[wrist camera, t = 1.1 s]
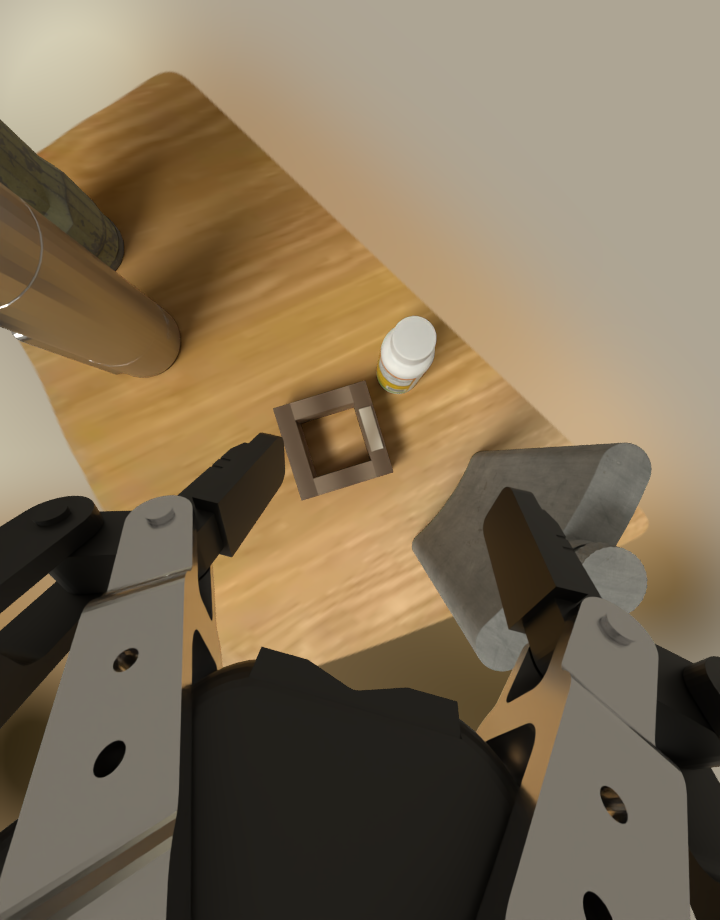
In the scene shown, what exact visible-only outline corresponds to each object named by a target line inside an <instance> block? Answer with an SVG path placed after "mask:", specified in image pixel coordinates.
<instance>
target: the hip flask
mask: <svg viewBox="0 0 720 920" xmlns="http://www.w3.org/2000/svg"><path fill="white" fill-rule="evenodd" d="M650 475H651V463H650V460H649V458H648V456H647V454H646V453H645V452H644V450H642V449H641V448H640V447H638V446H637V445H634V444H631V443H614V444H596V445H579V446H562V447H546V448H529V449H513V450H496V451H481V452H477V453H475V454H474V455H473V456H472V458H471V460H470V462H469V465H468V467H467V469H466V471H465V473H464V475H463V477H462V479H461V480H460V482H459V484H458V486H457V487H456V489H455V490H454V492H453V493H452V495H451V496H450V498H449V499H448V501H447V502H446V503H445V505H444V506H443V508H442V509H441V510H440V512H439V513H438V514H437V515H436V516H435V518H434V519H433V520H432V521H431V522H430V523H429V524H428V526H427V527H426V528H425V529H424V530H423V531H422V532H420V533H419V534H418V535H417V536H416V537H415V538H414V540H413V542H412V549H413V552H414V553H415V555H416V557H417V558H418V560H419V562H420V563H421V565H422V566H423V568H424V570H425V571H426V573H427V575H428V576H429V578H430V579H431V581H432V583H433V584H434V586H435V587H436V589H437V591H438V592H439V594H440V596H441V597H442V599H443V600H444V602H445V604H446V605H447V607H448V609H449V610H450V612H451V613H452V615H453V617H454V618H455V620H456V622H457V623H458V625H459V626H460V628H461V629H462V631H463V633H464V634H465V636H466V638H467V639H468V641H469V643H470V644H471V646H472V648H473V649H474V651H475V652H476V654H477V655H478V657H479V659H480V660H481V661H482V663H483V664H484V665H486V666H487V667H489V668H490V669H493V670H496V671H507V670H511V669H513V668H514V666H515V664H516V662H517V659H518V657H519V655H520V653H521V651H522V649H523V647H524V646H525V645H526V644H527V643H529V642H528V639H527V636H526V634H524V633H520V632H516V631H512V630H509V629H508V625H507V622H506V618H505V614H504V610H503V606H502V603H501V599H500V595H499V591H498V587H497V584H496V580H495V576H494V572H493V568H492V565H491V561H490V557H489V553H488V550H487V546H486V542H485V538H484V534H483V523H484V519H485V517H486V515H487V513H488V512H489V510H490V509H491V507H492V505H493V504H494V502H495V500H496V499H497V497H498V496H499V494H500V492H501V491H502V489H503V488H505V487H511V488H516V489H521V490H525V491H530V492H532V493H533V494H534V496H535V498H536V500H537V502H538V503H539V505H540V507H541V509H543V510H545V511H546V512H547V513H548V514H549V515H550V516H551V517H552V518H553V519H554V520H555V521H556V522H557V523H558V524H559V526H560V527H561V529H562V531H563V533H564V534H565V536H566V540H568V541H569V543H570V544H571V546H572V548H573V552H575V553H576V555H577V556H578V558H579V560H580V561H581V563H582V565H583V567H584V568H585V570H586V572H587V573H588V575H589V577H590V578H591V580H592V582H593V584H594V585H595V587H596V589H597V590H598V592H599V594H600V595H601V597H602V599H605V600H607V601H610V602H612V603H614V604H615V605H617V606H619V607H620V608H622V609H623V610H625V611H626V612H627V613H630V612H631V611H633V610H634V609H635V608H636V607H637V606H638V605H639V604H640V602H641V601H642V600H643V596H644V594H645V593H646V588H647V577H646V572H645V570H644V566H643V565H642V563H641V561H640V560H639V559H638V558H637V557H636V555H634V554H632V553H631V552H630V551H627V550H625V549H624V548H619V547H617V546H616V545H617V543H618V541H619V539H620V538H621V536H622V534H623V532H624V531H625V529H626V527H627V525H628V523H629V521H630V520H631V518H632V516H633V514H634V512H635V510H636V508H637V506H638V504H639V502H640V499H641V497H642V495H643V493H644V490H645V488H646V486H647V484H648V481H649V479H650Z"/></svg>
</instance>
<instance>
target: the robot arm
mask: <svg viewBox="0 0 720 920" xmlns="http://www.w3.org/2000/svg"><path fill="white" fill-rule="evenodd" d="M0 327H2V328H5V329H7V330H10V331H11V332H12V334H13V336H14V337H15V338H16V339H18V340H20V341H22V342H24V343H27V344H30V345H33V346H36V347H39V348H42V349H44V350H47V351H50V352H53V353H56V354H59V355H62V356H64V357H67V358H70V359H73V360H76V361H79V362H82V363H84V364H87V365H90V366H93V367H96V368H99V369H101V370H104V371H107V372H110V373H113V374H120V373H126V374H129V375H132V376H135V377H151V376H155V375H158V374H160V373H162V372H164V371H165V370H166V369H167V368H169V367H170V366H171V365H172V363H173V362H174V361H175V359H176V357H177V355H178V353H179V348H180V333H179V329H178V326H177V324H176V322H175V321H174V319H173V318H172V316H171V315H170V314H169V313H167V312H166V311H165V310H164V309H163V308H161V307H160V306H159V305H158V304H156V303H155V302H154V301H152V300H151V299H150V298H149V297H147V296H146V295H145V294H143V293H142V292H141V291H140V290H138V289H137V288H136V287H135V286H133V285H132V284H131V283H129V282H128V281H127V280H126V279H124V278H123V277H122V276H120V275H119V274H118V273H117V272H115V271H114V270H113V269H111V268H110V267H109V266H107V265H106V264H105V263H104V262H102V261H101V260H100V259H98V258H97V257H96V256H95V255H93V254H92V253H91V252H89V251H88V250H87V249H86V248H84V247H83V246H82V245H80V244H79V243H78V242H77V241H75V240H74V239H73V238H71V237H70V236H69V235H68V234H66V233H65V232H64V231H62V230H61V229H60V228H58V227H57V226H56V225H55V224H53V223H52V222H51V221H49V220H48V219H47V218H46V217H44V216H43V215H42V214H40V213H39V212H38V211H37V210H35V209H34V208H33V207H31V206H30V205H29V204H28V203H26V202H25V201H24V200H22V199H21V198H20V197H18V196H17V195H16V194H14V193H13V192H12V191H11V190H9V189H8V188H7V187H5V186H4V185H3V184H2V183H0ZM284 475H285V457H284V440H283V438H282V437H280V436H275V435H271V434H266V433H259V434H258V435H257V436H256V437H255V438H254V439H253V440H252V441H251V442H250V443H242V444H240V445H238V446H236V447H233V448H231V449H230V450H229V451H228V452H226V453H225V454H224V455H223V456H222V457H221V459H218V460H217V461H216V462H215V463H214V464H213V465H212V467H209V468H208V469H207V470H206V471H205V472H204V473H202V474H201V475H200V476H199V477H198V478H197V479H196V480H195V481H193V482H192V483H191V484H190V485H189V486H188V487H187V488H185V489H184V490H183V491H182V492H181V493H180V494H179V495H177V496H174V495H170V496H162V497H157V498H154V499H151V500H149V501H146V502H144V503H143V504H141V505H139V506H138V507H136V508H135V509H134V510H133V511H105V512H99V510H98V509H97V507H96V506H95V504H94V503H93V501H92V500H90V499H89V498H87V497H83V496H67V497H61V498H56V499H53V500H49V501H46V502H43V503H41V504H38V505H36V506H34V507H32V508H30V509H28V510H27V511H25V512H23V513H22V514H20V515H18V516H17V517H15V518H14V519H12V520H10V521H9V522H7V523H6V524H4V525H2V526H1V527H0V613H1V612H3V611H4V610H5V609H6V608H7V607H9V606H10V605H11V604H12V603H13V602H15V601H16V600H17V599H18V598H19V597H21V596H22V595H23V594H24V593H25V592H27V591H28V590H29V589H30V588H31V587H33V586H34V585H35V584H36V583H37V582H39V581H40V580H41V579H42V578H43V577H45V576H46V575H47V574H48V573H49V574H50V575H51V576H52V577H53V578H54V579H55V580H56V582H55V583H54V584H53V585H52V586H51V587H50V588H48V589H47V590H46V591H45V592H44V593H43V594H42V595H41V596H39V597H38V598H37V599H36V600H35V601H34V602H32V603H31V604H30V605H29V606H28V607H27V608H26V609H24V610H23V611H22V612H21V613H20V614H19V615H18V616H17V617H15V618H14V619H13V620H12V621H11V622H10V623H9V624H7V625H6V626H5V627H4V628H3V629H2V630H1V631H0V728H1V727H2V726H3V725H4V724H5V723H6V722H7V720H8V719H9V718H10V717H11V716H12V715H13V713H15V711H16V710H17V709H18V708H19V707H20V706H21V705H22V704H23V702H24V701H25V700H26V699H27V698H28V697H29V696H30V695H31V693H32V692H33V691H34V690H35V689H36V688H37V687H38V686H39V684H40V683H41V682H42V681H43V680H44V679H45V678H46V677H47V675H48V674H49V673H50V672H51V671H52V670H53V668H55V666H56V665H57V664H58V663H59V662H60V661H61V660H62V659H63V657H64V656H65V655H66V654H67V653H68V652H69V651H70V652H69V655H68V659H67V662H66V665H65V668H64V672H63V675H62V678H61V682H60V685H59V688H58V691H57V695H56V698H55V701H54V705H53V708H52V711H51V714H50V717H49V721H48V724H47V727H46V730H45V734H44V737H43V741H42V744H41V747H40V750H39V753H38V756H37V760H36V763H35V766H34V770H33V773H32V776H31V779H30V783H29V786H28V789H27V793H26V796H25V799H24V802H23V805H22V809H21V812H20V816H19V818H18V819H17V820H16V821H14V822H13V823H12V824H10V825H9V826H8V827H6V828H5V829H4V830H3V831H1V832H0V920H690V905H691V908H692V910H693V913H694V915H695V918H696V920H720V783H719V781H718V780H717V778H716V776H715V774H714V773H713V771H712V769H711V767H719V766H720V657H715V656H713V657H709V658H706V659H704V660H701V661H699V662H696V663H692V662H690V661H688V660H686V659H684V658H682V657H680V656H678V655H676V654H674V653H672V652H670V651H668V650H666V649H664V648H662V647H660V646H658V645H656V644H654V642H653V640H652V639H651V637H650V635H649V634H648V633H647V631H646V630H645V629H644V628H643V627H642V626H641V624H640V623H639V622H637V621H636V620H635V619H634V618H633V617H632V616H631V615H630V614H629V613H627V612H626V611H625V610H623V609H622V608H620V607H619V606H617V605H615V604H614V603H612V602H610V601H607V600H605V599H602V597H601V595H600V594H599V592H598V590H597V589H596V587H595V585H594V584H593V582H592V580H591V578H590V577H589V575H588V573H587V572H586V570H585V568H584V567H583V565H582V563H581V561H580V560H579V558H578V556H577V555H576V553H575V552H573V548H572V546H571V544H570V543H569V541H568V540H566V536H565V534H564V533H563V531H562V529H561V527H560V526H559V524H558V523H557V522H556V521H555V520H554V519H553V518H552V517H551V516H550V515H549V514H548V513H547V512H546V511H545V510H543V509H541V507H540V505H539V503H538V502H537V500H536V498H535V496H534V494H533V493H532V492H530V491H525V490H521V489H516V488H511V487H505V488H503V489H502V491H501V492H500V494H499V496H498V497H497V499H496V500H495V502H494V504H493V505H492V507H491V509H490V510H489V512H488V513H487V515H486V517H485V519H484V523H483V534H484V538H485V542H486V546H487V550H488V553H489V557H490V561H491V565H492V568H493V572H494V576H495V580H496V584H497V587H498V591H499V595H500V599H501V603H502V606H503V610H504V614H505V618H506V622H507V625H508V629H509V630H512V631H516V632H520V633H524V634H526V636H527V639H528V642H529V643H527V644H526V645H525V646H524V647H523V649H522V651H521V653H520V655H519V657H518V659H517V662H516V664H515V666H514V668H513V670H512V672H511V674H510V676H509V679H508V681H507V683H506V685H505V687H504V689H503V691H502V693H501V696H500V698H499V700H498V702H497V704H496V705H495V707H494V708H493V710H492V711H491V712H490V713H489V714H488V715H487V717H486V718H485V719H484V720H483V722H482V723H481V725H480V726H479V728H478V730H477V732H475V731H474V730H473V729H471V728H470V727H469V726H468V725H466V724H465V723H464V722H463V721H462V720H460V719H459V714H458V704H457V701H453V700H449V699H446V698H442V697H439V696H435V695H432V694H428V693H425V692H421V691H417V690H414V689H411V688H393V689H378V690H362V691H358V690H353V689H351V688H349V687H347V686H346V685H344V684H343V683H341V682H340V681H339V680H337V679H335V678H334V677H333V676H331V675H330V674H328V673H327V672H325V671H324V670H322V669H321V668H319V667H318V666H316V665H315V664H313V663H312V662H310V661H309V660H307V659H304V658H300V657H296V656H293V655H289V654H286V653H282V652H279V651H275V650H271V649H268V648H264V647H261V649H260V652H259V654H258V656H257V659H256V660H248V661H243V662H238V663H235V664H232V665H229V666H226V667H223V665H222V654H221V646H220V641H219V636H218V631H217V623H216V607H215V590H214V574H213V565H212V563H213V561H214V560H215V559H216V557H217V556H218V555H219V554H221V555H225V556H229V557H233V555H234V554H235V552H236V551H237V549H238V548H239V546H240V545H241V543H242V542H243V541H244V539H245V538H246V536H247V535H248V533H249V532H250V530H251V529H252V527H253V526H254V524H255V523H256V521H257V520H258V518H259V517H260V515H261V514H262V513H263V511H264V510H265V508H266V507H267V505H268V504H269V502H270V501H271V499H272V498H273V496H274V495H275V493H276V492H277V490H278V489H279V488H280V486H281V484H282V482H283V479H284Z"/></svg>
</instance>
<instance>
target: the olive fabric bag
mask: <svg viewBox="0 0 720 920" xmlns="http://www.w3.org/2000/svg"><path fill="white" fill-rule="evenodd" d="M0 183H2V184H3V185H4V186H5V187H7V188H8V189H9V190H11V191H12V192H13V193H14V194H16V195H17V196H18V197H20V198H21V199H22V200H24V201H25V202H26V203H28V204H29V205H30V206H31V207H33V208H34V209H35V210H37V211H38V212H39V213H40V214H42V215H43V216H44V217H46V218H47V219H48V220H49V221H51V222H52V223H53V224H55V225H56V226H57V227H58V228H60V229H61V230H62V231H64V232H65V233H66V234H68V235H69V236H70V237H71V238H73V239H74V240H75V241H77V242H78V243H79V244H80V245H82V246H83V247H84V248H86V249H87V250H88V251H89V252H91V253H92V254H93V255H95V256H96V257H97V258H98V259H100V260H101V261H102V262H104V263H105V264H106V265H107V266H109V267H110V268H111V269H113V270H114V271H116V269H117V268H118V267H119V265H120V264H121V261H122V258H123V254H124V242H123V239H122V236H121V233H120V231H119V230H118V228H117V227H116V226H115V225H114V223H113V222H112V221H111V220H110V219H109V218H107V217H106V216H105V215H104V214H103V213H102V212H101V211H100V210H99V209H98V207H97V206H96V205H95V203H94V202H93V201H92V200H91V199H90V198H89V197H88V196H87V195H86V194H85V193H84V192H83V191H82V190H81V189H80V188H79V187H78V186H77V185H76V184H75V183H74V182H73V181H72V180H71V179H70V178H69V177H68V176H67V175H66V174H65V173H63V172H62V171H61V170H59V169H58V168H56V167H55V166H54V165H52V164H51V163H49V162H47V161H46V160H44V159H42V158H41V157H39V156H38V155H37V154H36V153H35V152H34V151H33V150H32V149H31V148H30V147H29V146H28V145H26V144H25V143H24V142H23V141H22V140H21V139H20V138H19V137H18V136H17V135H16V134H15V133H14V132H13V131H12V130H11V129H10V128H9V127H8V126H7V125H6V124H4V123H3V122H2V121H1V120H0Z"/></svg>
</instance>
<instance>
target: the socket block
mask: <svg viewBox="0 0 720 920" xmlns="http://www.w3.org/2000/svg"><path fill="white" fill-rule="evenodd" d="M350 408H354V409H355V413H356V416H357V419H358V422H359V426H360V429H361V432H362V435H363V439H364V442H365V445H366V448H367V451H368V455H369V458H370V461H367V462H364V463H361V464H357V465H354V466H351V467H348V468H344V469H341V470H338V471H335V472H331V473H328V474H325V475H322V476H319V477H317V475H316V471H315V468H314V465H313V462H312V459H311V455H310V452H309V449H308V446H307V442H306V439H305V436H304V433H303V430H302V426H301V423H305V422H308V421H311V420H314V419H318V418H321V417H324V416H328V415H331V414H334V413H337V412H341V411H344V410H347V409H350ZM273 410H274V413H275V417H276V420H277V423H278V426H279V429H280V433H281V436H282V438H283V440H284V446H285V449H286V452H287V455H288V458H289V462H290V465H291V468H292V471H293V474H294V478H295V481H296V484H297V487H298V491H299V494H300V497H301V500H305V499H309V498H312V497H315V496H318V495H322V494H325V493H328V492H331V491H334V490H338V489H341V488H344V487H347V486H351V485H354V484H357V483H360V482H363V481H367V480H370V479H373V478H376V477H380V476H383V475H386V474H389V473H393V469H392V466H391V463H390V459H389V456H388V453H387V450H386V446H385V443H384V440H383V436H382V433H381V430H380V427H379V423H378V420H377V417H376V414H375V410H374V407H373V404H372V401H371V397H370V394H369V391H368V388H367V384H366V381H362V382H358V383H355V384H352V385H348V386H345V387H342V388H339V389H335V390H332V391H329V392H325V393H322V394H319V395H316V396H312V397H309V398H306V399H302V400H299V401H296V402H293V403H289V404H286V405H283V406H280V407H276V408H273Z"/></svg>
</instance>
